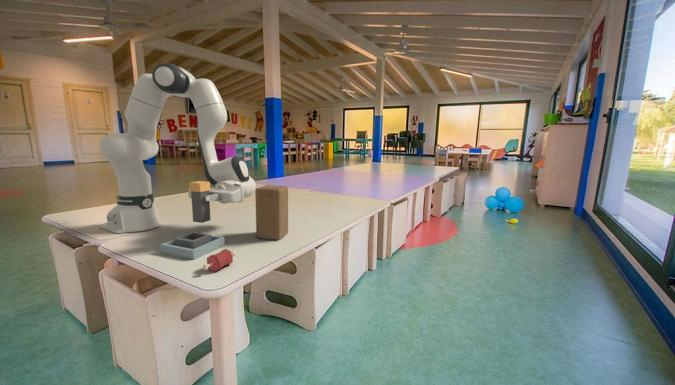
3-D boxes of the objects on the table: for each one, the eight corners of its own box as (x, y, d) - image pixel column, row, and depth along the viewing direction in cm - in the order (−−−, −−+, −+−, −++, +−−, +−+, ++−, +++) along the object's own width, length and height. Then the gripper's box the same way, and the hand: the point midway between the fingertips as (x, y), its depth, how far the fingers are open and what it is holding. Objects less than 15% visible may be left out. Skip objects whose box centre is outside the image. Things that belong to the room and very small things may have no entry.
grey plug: (191, 221, 99) (189, 182, 97) (201, 218, 103) (199, 180, 101) (202, 223, 98) (199, 183, 95) (211, 219, 102) (209, 181, 100)
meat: (212, 275, 77) (207, 258, 77) (199, 276, 79) (195, 260, 79) (242, 259, 88) (238, 244, 88) (230, 261, 90) (226, 246, 90)
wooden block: (279, 241, 108) (279, 189, 104) (255, 238, 109) (254, 188, 106) (289, 233, 117) (288, 185, 114) (266, 231, 119) (266, 184, 116)
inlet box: (160, 253, 93) (159, 240, 92) (194, 239, 106) (193, 228, 105) (193, 259, 89) (192, 246, 88) (224, 245, 102) (224, 233, 101)
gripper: (204, 182, 114) (175, 186, 101) (247, 186, 108) (221, 191, 95) (205, 197, 115) (176, 203, 102) (247, 202, 109) (222, 209, 96)
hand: (198, 197), depth 98 cm, fingers closed on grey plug, 4 cm apart
